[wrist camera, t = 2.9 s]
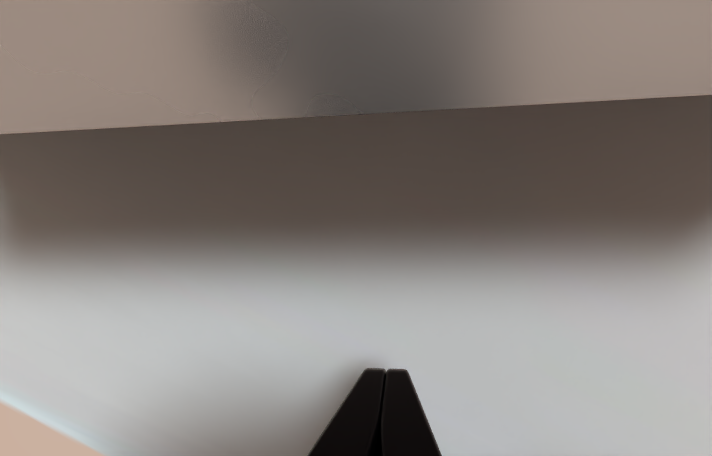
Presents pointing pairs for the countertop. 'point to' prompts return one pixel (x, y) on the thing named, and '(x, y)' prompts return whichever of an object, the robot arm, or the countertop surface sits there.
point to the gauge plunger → (335, 57)
